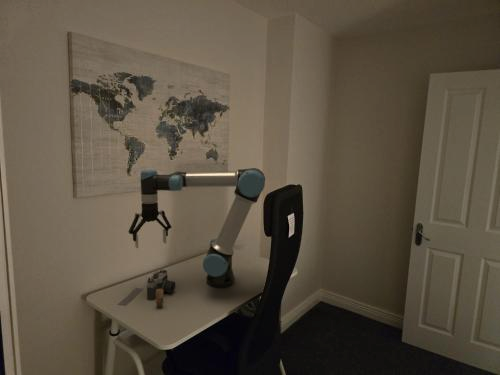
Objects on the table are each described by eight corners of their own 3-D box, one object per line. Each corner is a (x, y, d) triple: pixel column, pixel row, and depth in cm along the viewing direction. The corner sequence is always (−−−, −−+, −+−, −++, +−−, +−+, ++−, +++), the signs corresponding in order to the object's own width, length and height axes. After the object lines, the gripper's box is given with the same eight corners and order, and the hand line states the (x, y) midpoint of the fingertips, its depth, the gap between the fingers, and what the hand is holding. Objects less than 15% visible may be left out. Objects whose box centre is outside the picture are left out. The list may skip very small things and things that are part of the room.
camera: (165, 302, 151) (165, 281, 150) (145, 299, 153) (144, 279, 152) (179, 287, 166) (179, 269, 165) (160, 285, 168) (160, 266, 167)
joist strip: (143, 288, 164) (143, 288, 164) (125, 305, 147) (125, 305, 147) (136, 288, 164) (136, 287, 164) (117, 304, 148) (117, 304, 148)
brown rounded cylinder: (164, 305, 148) (164, 289, 147) (161, 309, 145) (161, 292, 144) (157, 304, 149) (157, 288, 147) (154, 308, 145) (154, 291, 144)
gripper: (172, 198, 168) (172, 239, 171) (120, 203, 154) (122, 247, 157) (177, 201, 162) (178, 242, 165) (124, 206, 148) (126, 251, 151)
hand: (151, 245), depth 161 cm, fingers open, 13 cm apart
